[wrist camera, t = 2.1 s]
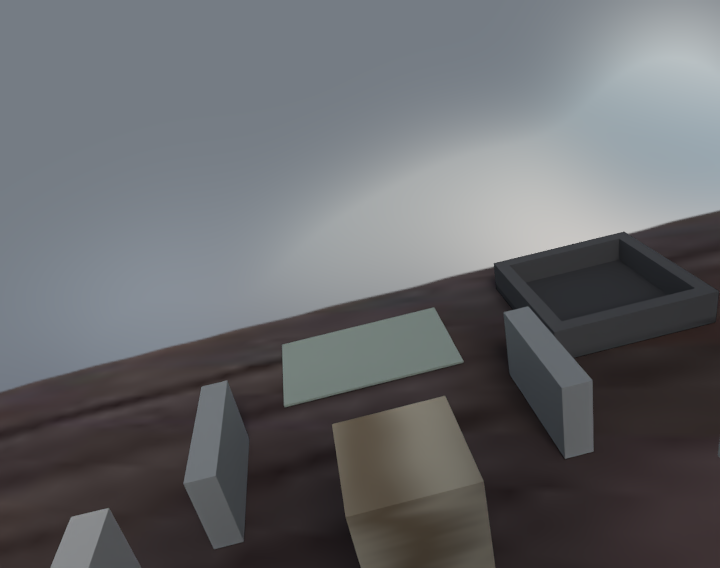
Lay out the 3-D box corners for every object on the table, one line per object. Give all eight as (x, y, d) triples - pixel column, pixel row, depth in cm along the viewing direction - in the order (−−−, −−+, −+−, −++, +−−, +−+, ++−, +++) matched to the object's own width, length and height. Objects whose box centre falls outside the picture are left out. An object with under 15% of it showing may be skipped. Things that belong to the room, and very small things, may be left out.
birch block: (468, 538, 34) (445, 395, 29) (504, 636, 29) (483, 481, 24) (372, 564, 34) (332, 424, 29) (390, 667, 29) (345, 517, 24)
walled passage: (532, 368, 47) (528, 306, 44) (593, 451, 38) (592, 380, 36) (225, 445, 46) (201, 386, 44) (214, 549, 37) (183, 484, 35)
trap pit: (623, 257, 60) (624, 231, 59) (715, 322, 48) (718, 291, 46) (496, 288, 60) (493, 263, 58) (555, 362, 47) (554, 332, 46)
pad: (434, 309, 59) (434, 307, 59) (463, 362, 50) (463, 360, 50) (282, 346, 58) (282, 344, 58) (284, 407, 49) (283, 405, 49)
